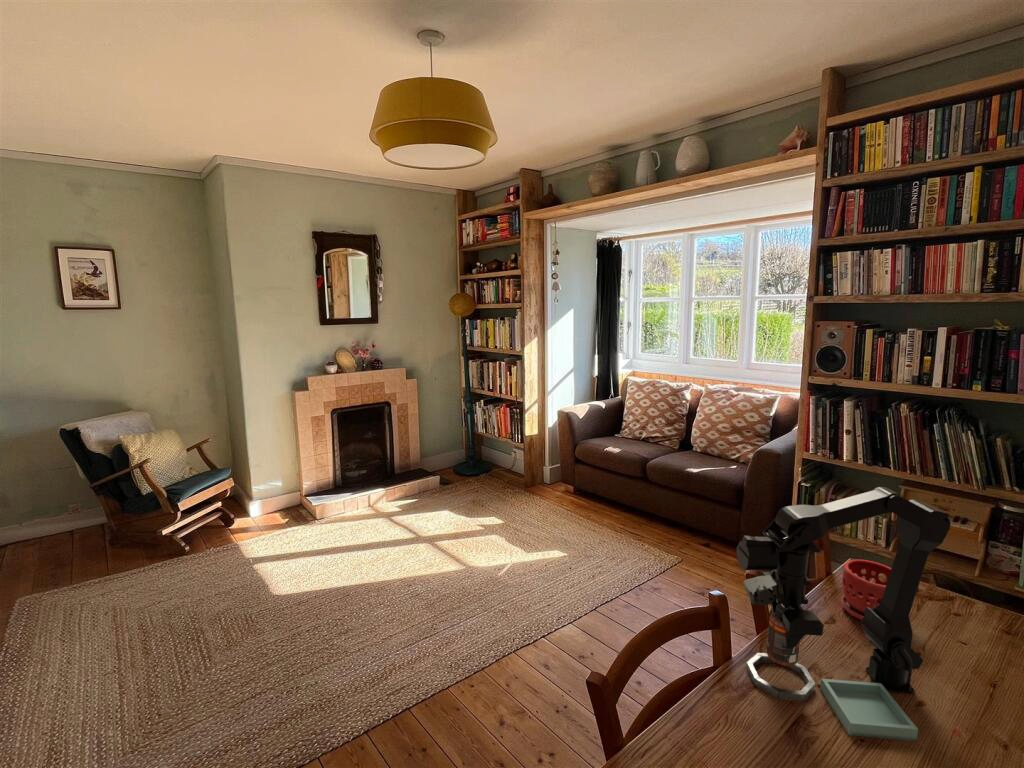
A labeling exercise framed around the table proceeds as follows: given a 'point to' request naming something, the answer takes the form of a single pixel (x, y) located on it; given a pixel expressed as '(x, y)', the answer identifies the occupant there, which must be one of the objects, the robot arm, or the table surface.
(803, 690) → the holder ring
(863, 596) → the plant pot
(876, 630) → the robot arm
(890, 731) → the tray
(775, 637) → the supplement bottle
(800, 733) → the table surface
